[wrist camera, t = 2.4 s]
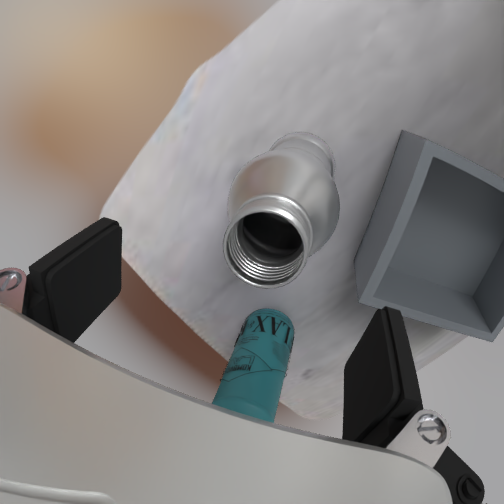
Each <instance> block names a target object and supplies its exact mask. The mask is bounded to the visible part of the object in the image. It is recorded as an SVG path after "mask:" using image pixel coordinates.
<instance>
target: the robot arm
mask: <svg viewBox="0 0 504 504" xmlns="http://www.w3.org/2000/svg"><path fill="white" fill-rule="evenodd" d="M121 253H122V228H121V227H120V226H119V223H118V222H117V221H115V220H112V219H109V218H105V217H104V218H101V219H100V220H98V221H97V222H95V223H93V224H92V225H90V226H89V227H87V228H85V229H84V230H83V231H81V232H79V233H78V234H76V235H75V236H73V237H71V238H70V239H69V240H67V241H65V242H64V243H62V244H61V245H60V246H58V247H56V248H55V249H54V250H52V251H51V252H49V253H48V254H46V255H45V256H43V257H42V258H41V259H39V260H38V261H36V262H35V263H33V264H32V265H31V266H29V271H30V274H28V275H27V276H26V274H25V273H24V271H22V270H21V269H18V268H5V269H2V270H0V504H482V501H483V498H484V492H485V491H484V485H483V483H482V480H481V479H480V478H479V476H478V475H477V474H476V473H475V472H474V471H473V470H472V469H471V468H470V467H469V466H468V465H467V464H466V463H465V462H464V461H463V460H461V458H460V457H458V456H457V455H456V454H455V453H454V452H453V451H452V450H451V449H450V448H449V447H448V446H447V445H448V443H449V440H450V438H451V431H450V427H449V425H448V423H447V421H446V420H445V419H444V418H443V417H442V416H441V415H440V414H438V413H437V412H435V411H432V410H427V409H424V410H423V405H422V399H421V394H420V389H419V384H418V379H417V374H416V370H415V365H414V361H413V357H412V352H411V348H410V344H409V340H408V336H407V332H406V329H405V325H404V321H403V317H402V314H401V311H400V310H397V309H394V308H390V307H387V306H385V307H383V308H382V309H378V310H377V311H376V312H375V314H374V316H373V318H372V320H371V322H370V323H369V325H368V327H367V329H366V330H365V332H364V334H363V336H362V337H361V339H360V341H359V342H358V344H357V346H356V347H355V349H354V351H353V352H352V354H351V356H350V357H349V359H348V361H347V362H346V365H345V369H344V410H343V436H342V439H338V438H334V437H329V436H324V435H320V434H316V433H311V432H307V431H303V430H299V429H295V428H291V427H287V426H283V425H279V424H275V423H272V422H268V421H265V420H261V419H258V418H254V417H251V416H248V415H244V414H241V413H238V412H235V411H232V410H229V409H226V408H223V407H220V406H217V405H214V404H211V403H208V402H205V401H202V400H199V399H197V398H194V397H191V396H189V395H186V394H183V393H181V392H178V391H176V390H173V389H171V388H168V387H165V386H163V385H161V384H159V383H156V382H154V381H151V380H149V379H147V378H144V377H142V376H140V375H138V374H135V373H133V372H131V371H129V370H127V369H124V368H122V367H120V366H118V365H116V364H114V363H112V362H110V361H108V360H106V359H103V358H101V357H99V356H97V355H95V354H93V353H91V352H89V351H88V350H86V349H84V348H82V347H80V346H78V345H76V344H74V342H75V341H76V340H77V339H78V338H79V337H80V336H81V334H82V333H83V332H84V331H85V330H86V329H87V328H88V327H89V326H90V325H91V324H92V322H93V321H94V320H95V319H96V318H97V317H98V316H99V315H100V314H101V313H102V312H103V311H104V310H105V309H106V308H107V307H108V305H109V304H110V303H111V302H112V301H113V300H114V299H115V298H116V297H117V296H118V295H119V293H120V291H121ZM486 504H487V503H486Z"/></svg>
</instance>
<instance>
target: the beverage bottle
mask: <svg viewBox="0 0 504 504" xmlns="http://www.w3.org/2000/svg"><path fill="white" fill-rule="evenodd" d="M293 327H294V326H293V324H292V322H291V320H290V319H289V318H288V317H287V316H286V315H285V314H283V313H282V312H280V311H277V310H274V309H260V310H257V311H255V312H253V313H252V314H250V316H249V317H248V318H247V319H246V321H245V324H244V326H243V325H242V328H241V332H240V334H239V336H238V338H237V340H236V343H237V344H236V343H235V345H234V347H235V348H234V351H233V353H232V356H231V358H230V361H229V363H228V364H227V365H228V366H227V368H226V370H225V373H224V375H223V378H222V379H221V384H220V386H219V388H218V391H217V393H216V395H215V398H214V400H213V402H212V404H214V405H217V406H220V407H223V408H226V409H229V410H232V411H235V412H238V413H241V414H244V415H248V416H251V417H254V418H258V419H261V420H265V421H268V422H272V423H274V418H275V414H276V410H277V406H278V402H279V398H280V393H281V389H282V385H283V381H284V378H285V377H286V376H287V374H286V376H285V373H286V370H287V364H288V362H290V361H288V360H289V359H290V357H289V356H290V353H291V352H292V351H291V350H292V346H291V345H293V340H294V338H295V337H294V335H295V334H294V330H295V329H294V328H293Z"/></svg>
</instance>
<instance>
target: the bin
mask: <svg viewBox="0 0 504 504" xmlns="http://www.w3.org/2000/svg"><path fill="white" fill-rule="evenodd" d="M354 266H355V275H356V284H357V295H358V303H361V304H364V305H368V306H371V307H374V308H378V309H382V308H383V307H385V306H387V307H390V308H394V309H397V310H400V311H401V314H402V316H404V317H407V318H411V319H414V320H417V321H421V322H424V323H428V324H431V325H434V326H438V327H441V328H445V329H448V330H451V331H455V332H458V333H462V334H465V335H469V336H473V337H476V338H479V339H483V340H486V341H490V342H493V341H494V339H495V338H496V337H497V335H498V334H499V332H500V331H501V329H502V328H503V327H504V179H503V178H501V177H499V176H497V175H496V174H494V173H492V172H490V171H489V170H487V169H485V168H483V167H482V166H480V165H478V164H476V163H474V162H472V161H470V160H468V159H466V158H465V157H463V156H461V155H459V154H457V153H455V152H453V151H451V150H449V149H446V148H444V147H442V146H440V145H438V144H436V143H434V142H432V141H429V140H427V139H425V138H422V137H420V136H417V135H415V134H412V133H409V132H407V131H404V130H402V133H401V136H400V139H399V142H398V145H397V148H396V151H395V154H394V157H393V160H392V163H391V166H390V169H389V172H388V175H387V177H386V180H385V183H384V186H383V188H382V191H381V194H380V197H379V199H378V202H377V205H376V207H375V210H374V212H373V215H372V218H371V220H370V223H369V225H368V228H367V230H366V233H365V235H364V238H363V240H362V242H361V245H360V247H359V250H358V252H357V254H356V257H355V259H354Z"/></svg>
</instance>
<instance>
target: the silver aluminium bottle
mask: <svg viewBox="0 0 504 504" xmlns="http://www.w3.org/2000/svg"><path fill="white" fill-rule="evenodd" d="M334 175H335V160H334V156H333V153H332V152H331V150H330V148H329V147H328V145H327V144H326V143H325V142H324V141H323V140H322V139H320V138H319V137H317V136H315V135H313V134H310V133H306V132H295V133H290V134H287V135H285V136H283V137H281V138H280V139H278V140H277V141H276V142H275V143H274V144H273V146H272V147H271V148H270V150H269V152H267V153H264V154H261V155H259V156H257V157H255V158H254V159H252V160H250V161H249V162H248V163H247V164H246V165H245V166H244V167H242V168H241V169H240V171H239V172H238V174H237V175H236V177H235V178H234V180H233V183H232V185H231V188H230V192H229V197H228V218H229V223H230V224H229V226H228V228H227V230H226V232H225V236H224V241H223V252H224V256H225V260H226V262H227V264H228V266H229V268H230V269H231V271H232V272H233V273H234V274H235V275H236V276H237V277H238V278H239V279H241V280H242V281H243V282H245V283H247V284H249V285H251V286H254V287H258V288H265V289H270V288H277V287H282V286H284V285H286V284H288V283H290V282H291V281H293V280H294V279H295V278H296V277H297V276H298V275H299V274H300V273H301V271H302V269H303V268H304V266H305V264H306V261H307V258H308V257H310V256H312V255H313V254H314V253H316V252H317V251H318V250H320V249H321V247H322V246H323V245H324V244H325V243H326V242H327V241H328V240H329V238H330V237H331V235H332V233H333V232H334V230H335V228H336V225H337V222H338V219H339V211H340V204H339V195H338V192H337V188H336V185H335V183H334V181H333V179H334Z"/></svg>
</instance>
